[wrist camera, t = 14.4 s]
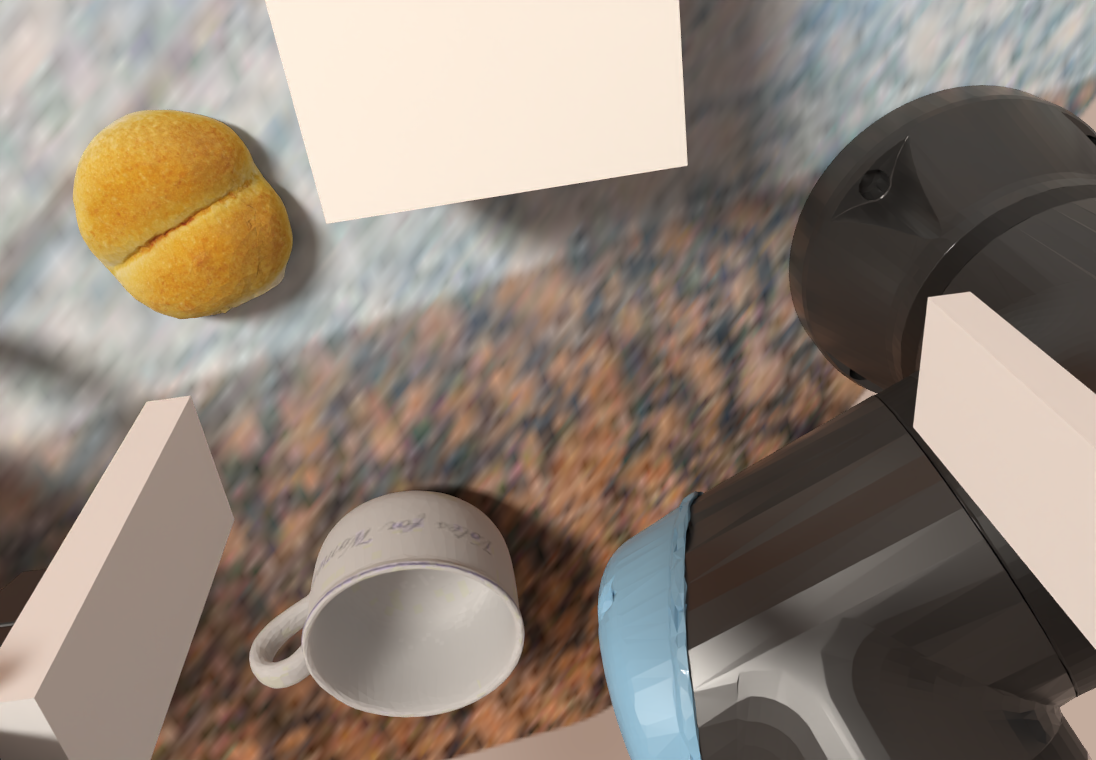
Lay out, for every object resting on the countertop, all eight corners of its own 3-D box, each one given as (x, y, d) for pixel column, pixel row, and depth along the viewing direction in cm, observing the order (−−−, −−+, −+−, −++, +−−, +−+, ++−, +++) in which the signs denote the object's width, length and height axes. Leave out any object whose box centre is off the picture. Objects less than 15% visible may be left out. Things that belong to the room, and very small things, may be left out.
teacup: (504, 451, 48) (514, 552, 41) (522, 601, 53) (534, 712, 46) (239, 482, 47) (204, 590, 40) (285, 630, 52) (261, 747, 46)
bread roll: (202, 69, 37) (177, 91, 33) (323, 249, 41) (313, 286, 38) (37, 161, 38) (-3, 192, 35) (173, 327, 42) (149, 369, 39)
